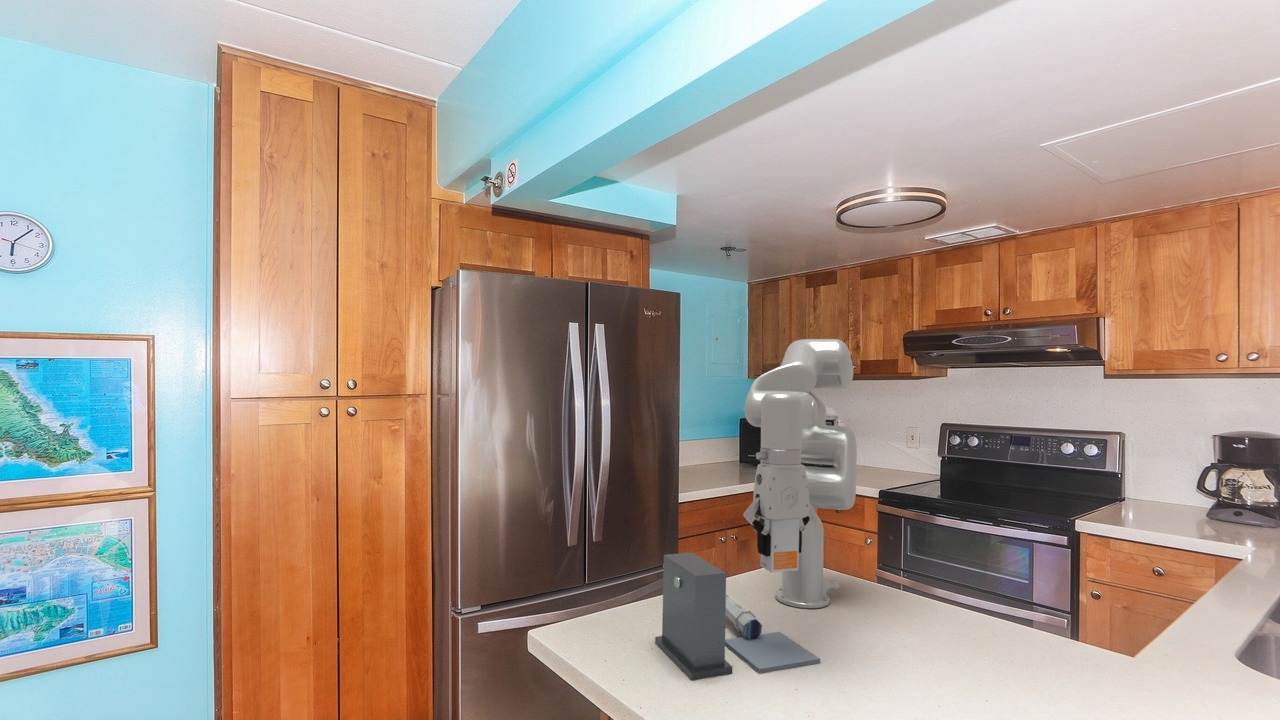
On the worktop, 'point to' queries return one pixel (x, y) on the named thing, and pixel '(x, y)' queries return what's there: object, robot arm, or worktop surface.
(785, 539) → the skincare box
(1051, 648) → the worktop surface
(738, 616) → the white elongated piece
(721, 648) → the mounted unit
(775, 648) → the slate mat
